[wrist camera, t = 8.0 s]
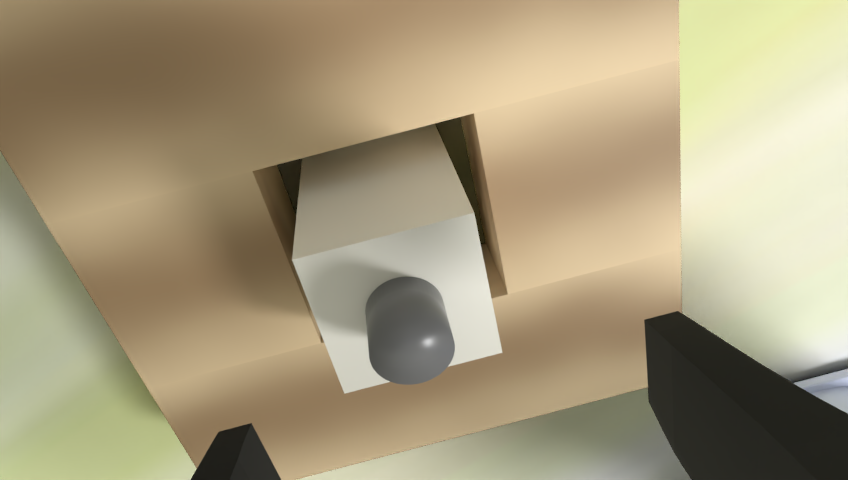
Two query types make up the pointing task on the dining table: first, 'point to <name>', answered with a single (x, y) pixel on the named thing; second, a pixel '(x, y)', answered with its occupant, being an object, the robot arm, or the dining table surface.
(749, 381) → the robot arm
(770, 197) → the dining table surface
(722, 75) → the dining table surface
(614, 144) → the socket plate
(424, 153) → the plug
